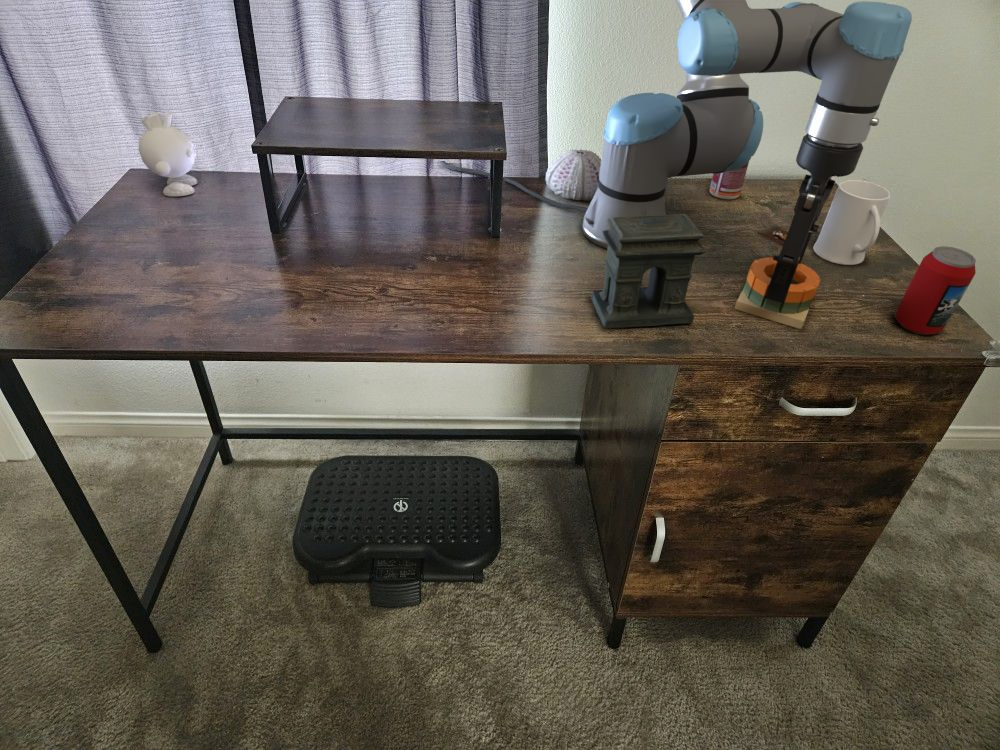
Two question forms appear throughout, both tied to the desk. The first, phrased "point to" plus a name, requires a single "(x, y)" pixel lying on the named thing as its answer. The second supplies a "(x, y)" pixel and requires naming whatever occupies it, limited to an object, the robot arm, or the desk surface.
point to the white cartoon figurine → (168, 153)
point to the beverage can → (936, 290)
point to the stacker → (773, 307)
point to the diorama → (776, 236)
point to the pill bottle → (728, 183)
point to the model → (634, 252)
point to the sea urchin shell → (575, 174)
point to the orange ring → (796, 291)
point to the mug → (852, 222)
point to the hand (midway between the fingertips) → (781, 283)
